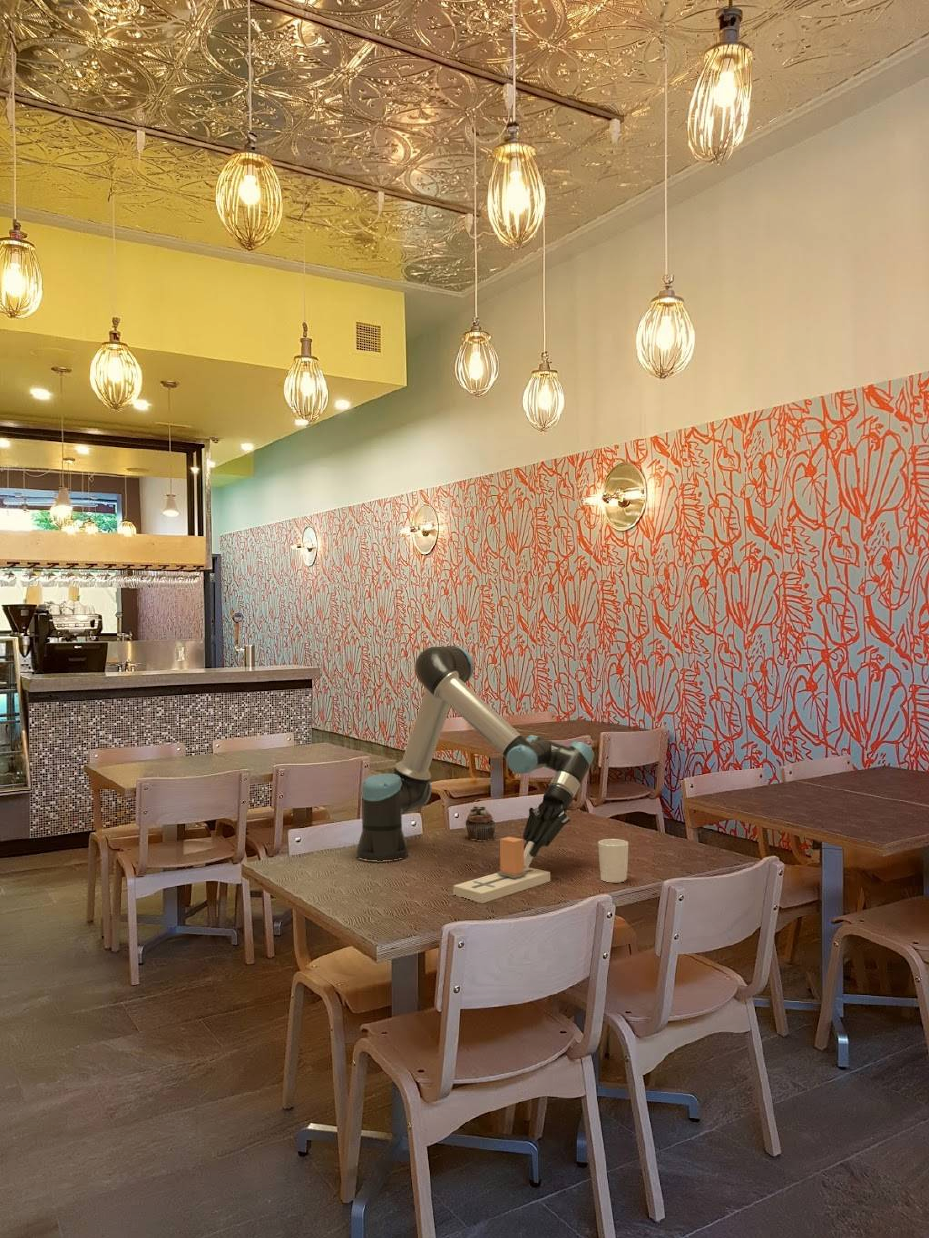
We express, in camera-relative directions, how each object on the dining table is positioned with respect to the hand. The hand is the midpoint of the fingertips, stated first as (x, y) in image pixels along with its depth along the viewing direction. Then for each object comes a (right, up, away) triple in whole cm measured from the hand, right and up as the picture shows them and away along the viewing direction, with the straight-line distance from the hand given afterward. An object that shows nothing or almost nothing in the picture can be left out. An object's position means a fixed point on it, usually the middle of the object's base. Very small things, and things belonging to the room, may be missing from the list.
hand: (522, 865), depth 235 cm
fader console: (-5, -5, -4) cm, 8 cm away
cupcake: (-10, -6, +52) cm, 53 cm away
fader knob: (-3, -2, -2) cm, 4 cm away
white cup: (+24, -5, +2) cm, 25 cm away
